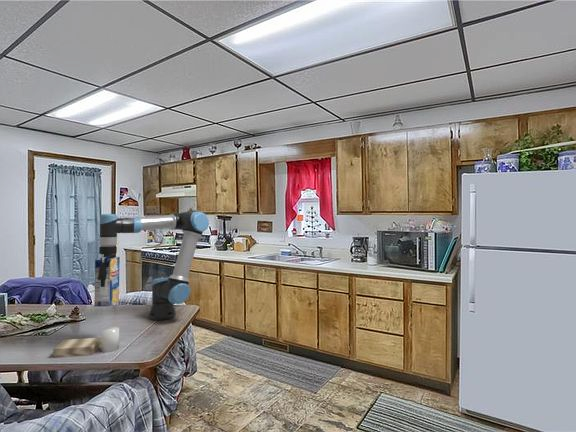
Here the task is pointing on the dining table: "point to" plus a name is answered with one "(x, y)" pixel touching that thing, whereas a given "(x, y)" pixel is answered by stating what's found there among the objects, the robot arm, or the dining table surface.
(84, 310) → the dining table surface
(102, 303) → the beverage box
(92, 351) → the maple block
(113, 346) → the white rounded cylinder
